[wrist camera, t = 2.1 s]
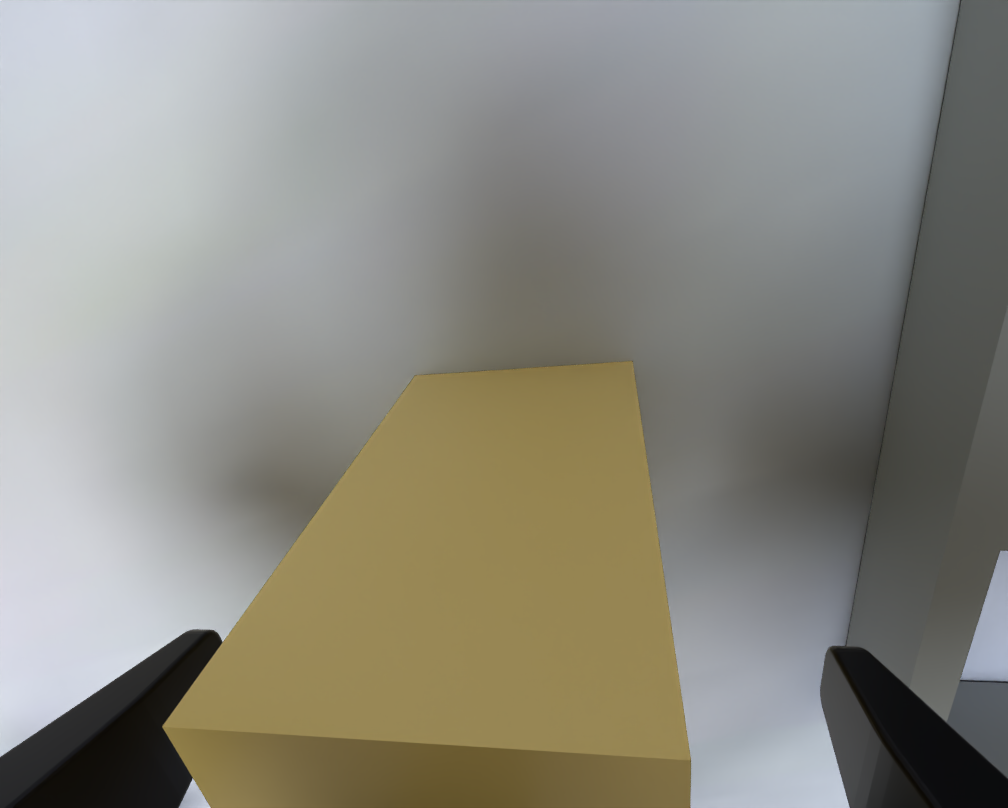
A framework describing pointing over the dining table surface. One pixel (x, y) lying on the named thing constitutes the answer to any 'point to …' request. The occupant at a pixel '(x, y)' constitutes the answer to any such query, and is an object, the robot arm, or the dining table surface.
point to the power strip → (949, 410)
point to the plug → (461, 618)
